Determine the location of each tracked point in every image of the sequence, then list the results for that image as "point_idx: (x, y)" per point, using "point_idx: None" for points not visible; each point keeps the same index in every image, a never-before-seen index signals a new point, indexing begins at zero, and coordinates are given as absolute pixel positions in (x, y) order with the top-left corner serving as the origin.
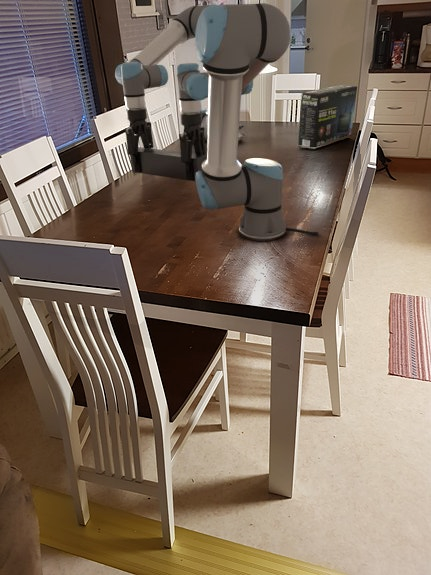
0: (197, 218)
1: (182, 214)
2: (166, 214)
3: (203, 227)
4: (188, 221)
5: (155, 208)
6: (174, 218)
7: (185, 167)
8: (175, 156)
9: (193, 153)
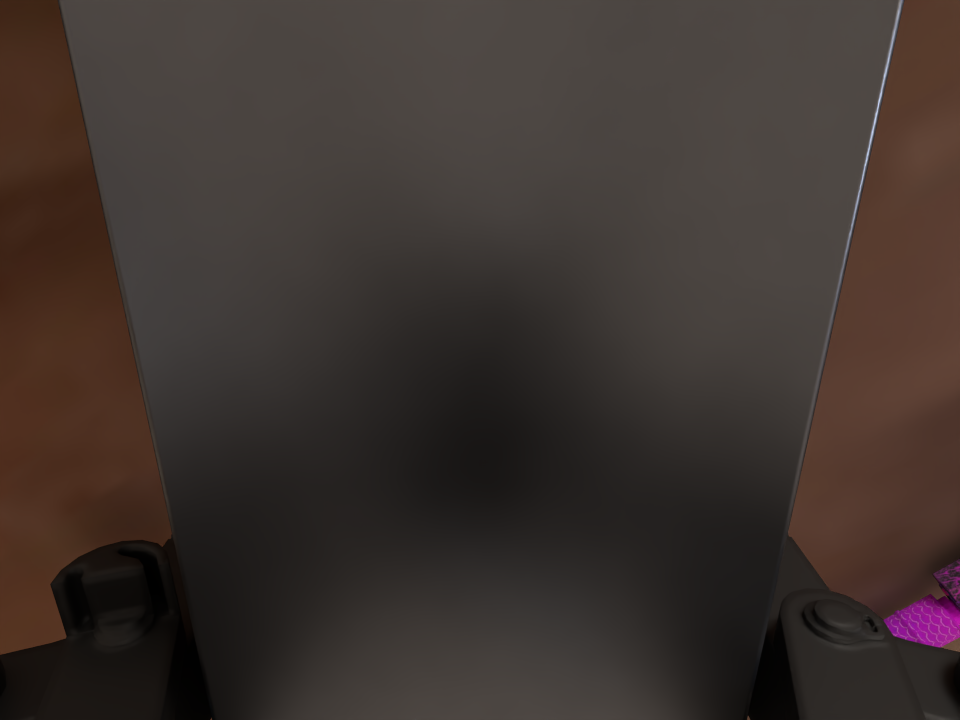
0: (134, 527)
1: (120, 377)
2: (17, 238)
3: (34, 636)
4: (40, 498)
5: (54, 3)
6: (2, 364)
7: (164, 545)
8: (107, 216)
9: (756, 646)
